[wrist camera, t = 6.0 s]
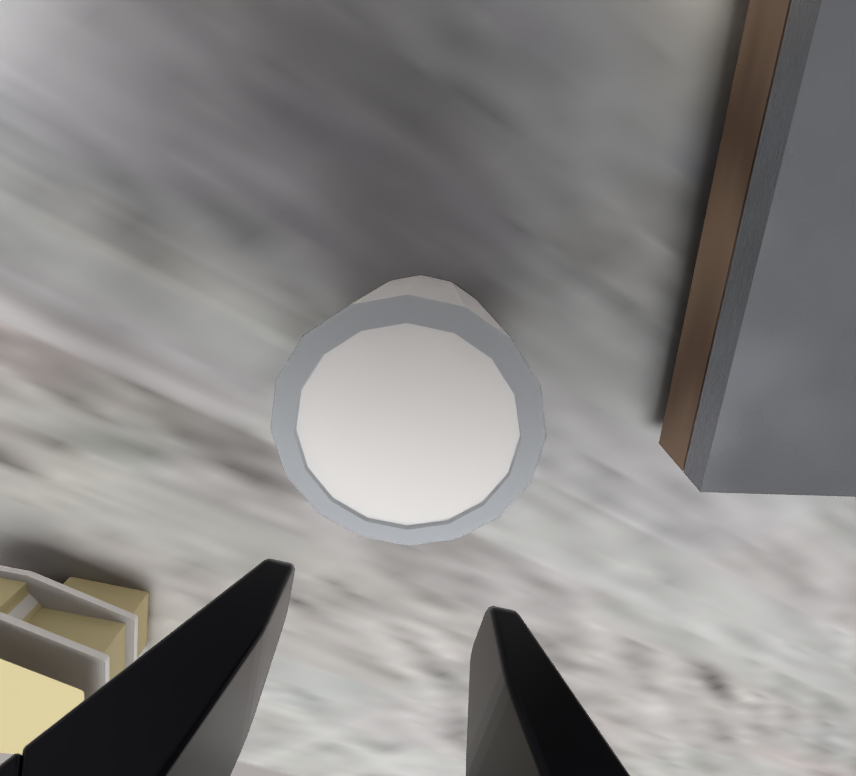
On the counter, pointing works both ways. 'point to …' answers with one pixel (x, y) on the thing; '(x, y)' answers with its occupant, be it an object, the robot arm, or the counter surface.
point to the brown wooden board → (723, 217)
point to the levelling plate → (791, 284)
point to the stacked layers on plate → (60, 647)
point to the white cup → (409, 415)
